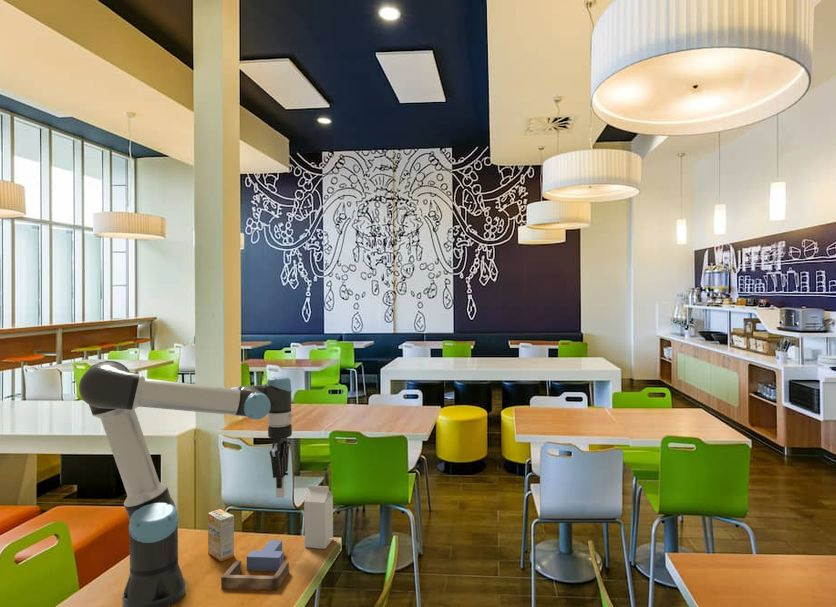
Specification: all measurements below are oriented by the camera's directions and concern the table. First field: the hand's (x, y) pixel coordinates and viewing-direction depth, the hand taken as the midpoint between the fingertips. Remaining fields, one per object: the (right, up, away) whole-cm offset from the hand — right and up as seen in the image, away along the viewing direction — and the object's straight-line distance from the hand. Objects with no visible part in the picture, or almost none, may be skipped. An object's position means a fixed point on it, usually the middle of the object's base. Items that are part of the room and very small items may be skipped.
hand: (280, 496), depth 167 cm
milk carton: (+12, -16, +1) cm, 20 cm away
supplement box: (-17, -17, -6) cm, 25 cm away
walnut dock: (-1, -16, -20) cm, 26 cm away
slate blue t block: (-1, -16, -10) cm, 19 cm away
